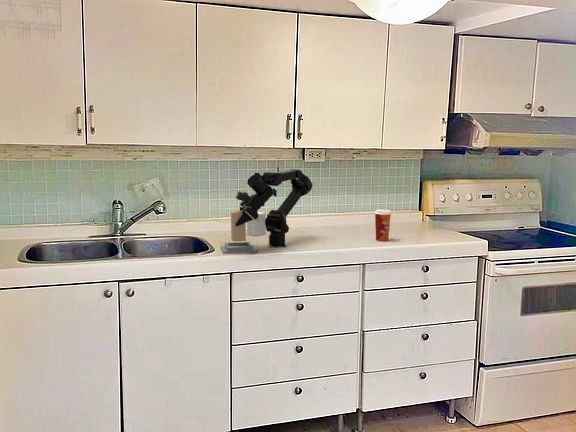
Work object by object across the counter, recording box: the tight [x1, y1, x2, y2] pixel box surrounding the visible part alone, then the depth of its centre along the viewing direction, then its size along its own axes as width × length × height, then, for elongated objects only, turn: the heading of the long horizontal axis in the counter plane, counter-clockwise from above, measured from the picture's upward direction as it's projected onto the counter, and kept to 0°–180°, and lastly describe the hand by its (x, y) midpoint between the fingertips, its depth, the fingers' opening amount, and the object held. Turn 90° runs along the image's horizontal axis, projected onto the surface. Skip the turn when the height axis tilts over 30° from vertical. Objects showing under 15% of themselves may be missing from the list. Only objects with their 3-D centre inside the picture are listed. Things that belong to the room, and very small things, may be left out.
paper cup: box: [374, 208, 392, 242], centre depth 261 cm, size 8×8×14 cm
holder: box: [220, 241, 258, 255], centre depth 239 cm, size 14×12×2 cm
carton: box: [230, 210, 247, 242], centre depth 238 cm, size 6×6×12 cm
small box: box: [246, 211, 267, 237], centre depth 274 cm, size 8×6×10 cm
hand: (235, 224), depth 238 cm, fingers closed on carton, 5 cm apart
